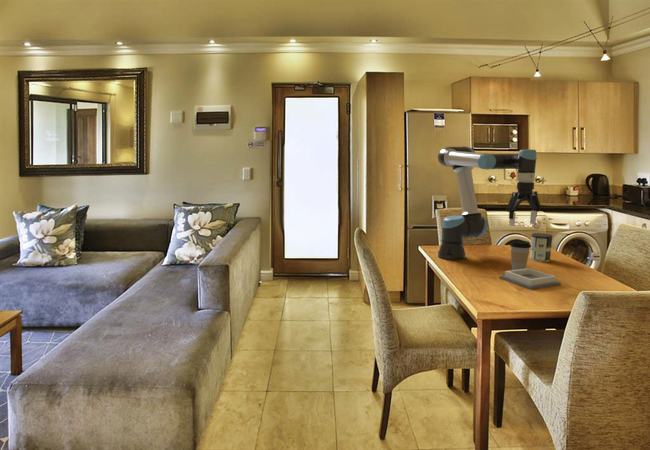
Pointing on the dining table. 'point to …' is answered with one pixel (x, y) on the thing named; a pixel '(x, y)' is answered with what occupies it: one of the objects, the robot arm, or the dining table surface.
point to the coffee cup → (519, 254)
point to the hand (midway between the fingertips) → (522, 224)
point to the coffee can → (540, 247)
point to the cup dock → (530, 278)
